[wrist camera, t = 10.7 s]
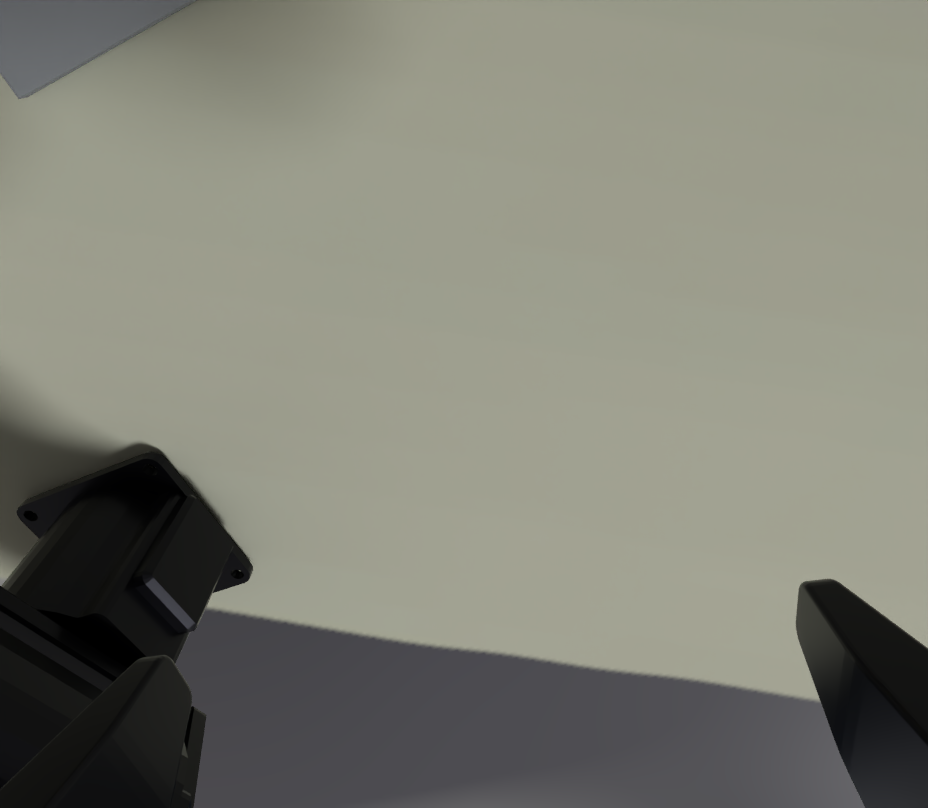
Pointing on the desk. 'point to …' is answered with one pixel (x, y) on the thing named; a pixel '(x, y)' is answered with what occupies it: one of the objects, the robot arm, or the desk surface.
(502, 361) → the desk surface
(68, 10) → the mat
